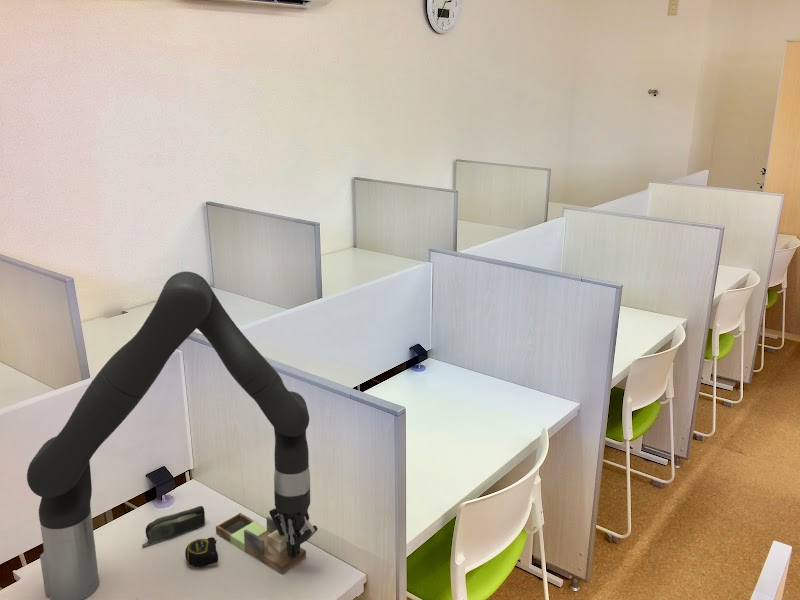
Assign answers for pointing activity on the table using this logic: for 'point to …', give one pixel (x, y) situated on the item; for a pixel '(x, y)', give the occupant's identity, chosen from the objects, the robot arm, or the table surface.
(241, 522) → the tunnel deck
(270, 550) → the block
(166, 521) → the green pencil case
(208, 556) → the tape measure
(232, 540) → the pad
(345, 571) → the table surface
